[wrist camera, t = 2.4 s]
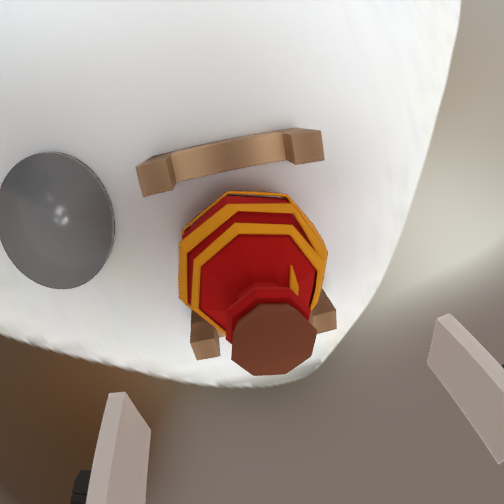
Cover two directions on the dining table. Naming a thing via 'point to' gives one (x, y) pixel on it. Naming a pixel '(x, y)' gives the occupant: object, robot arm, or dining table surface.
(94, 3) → the dining table surface
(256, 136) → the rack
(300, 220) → the potion bottle
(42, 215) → the coaster
